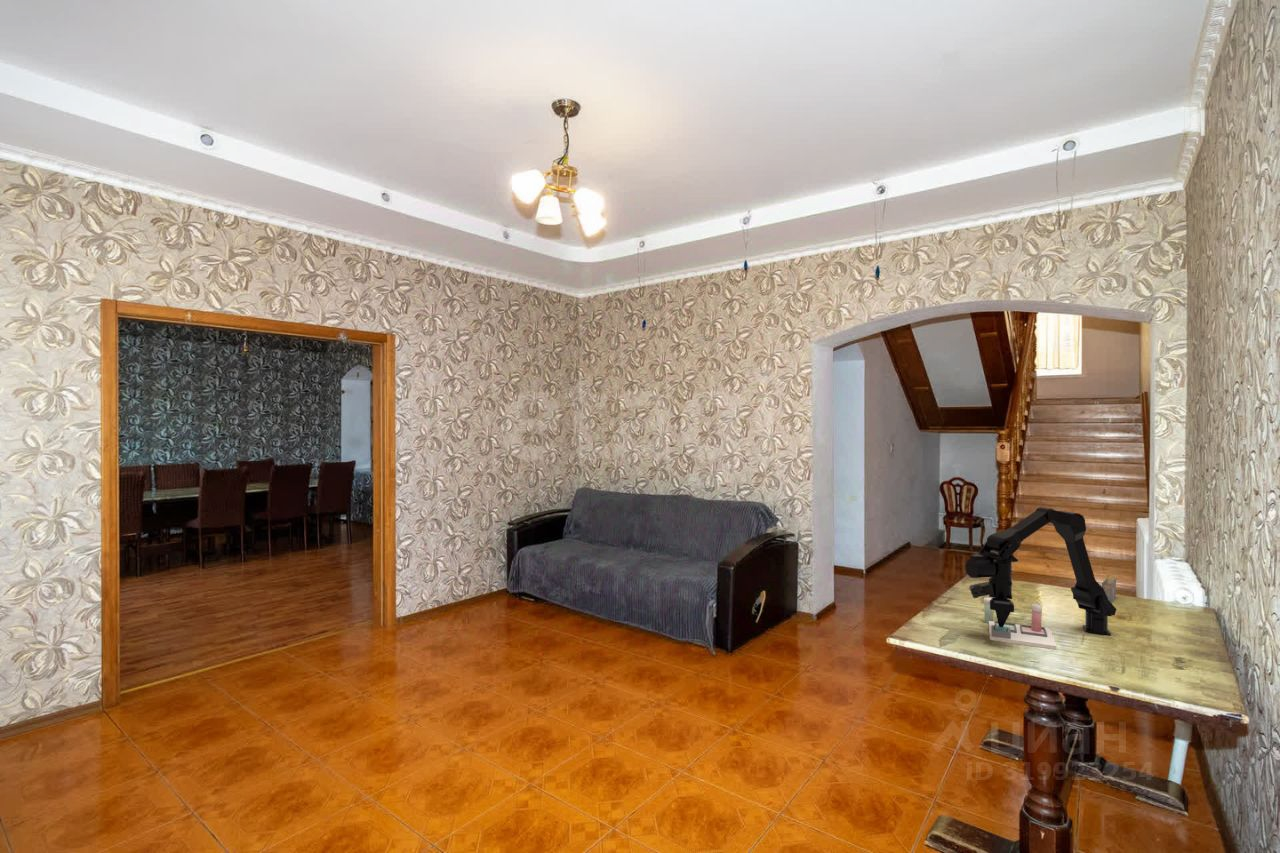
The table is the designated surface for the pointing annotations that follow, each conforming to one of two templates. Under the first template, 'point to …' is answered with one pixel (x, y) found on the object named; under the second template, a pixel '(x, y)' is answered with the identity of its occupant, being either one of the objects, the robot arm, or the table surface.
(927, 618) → the table surface
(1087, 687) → the table surface
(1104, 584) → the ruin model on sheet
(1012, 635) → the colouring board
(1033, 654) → the table surface
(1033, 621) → the rose marker
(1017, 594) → the table surface
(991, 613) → the sage marker
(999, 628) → the button
